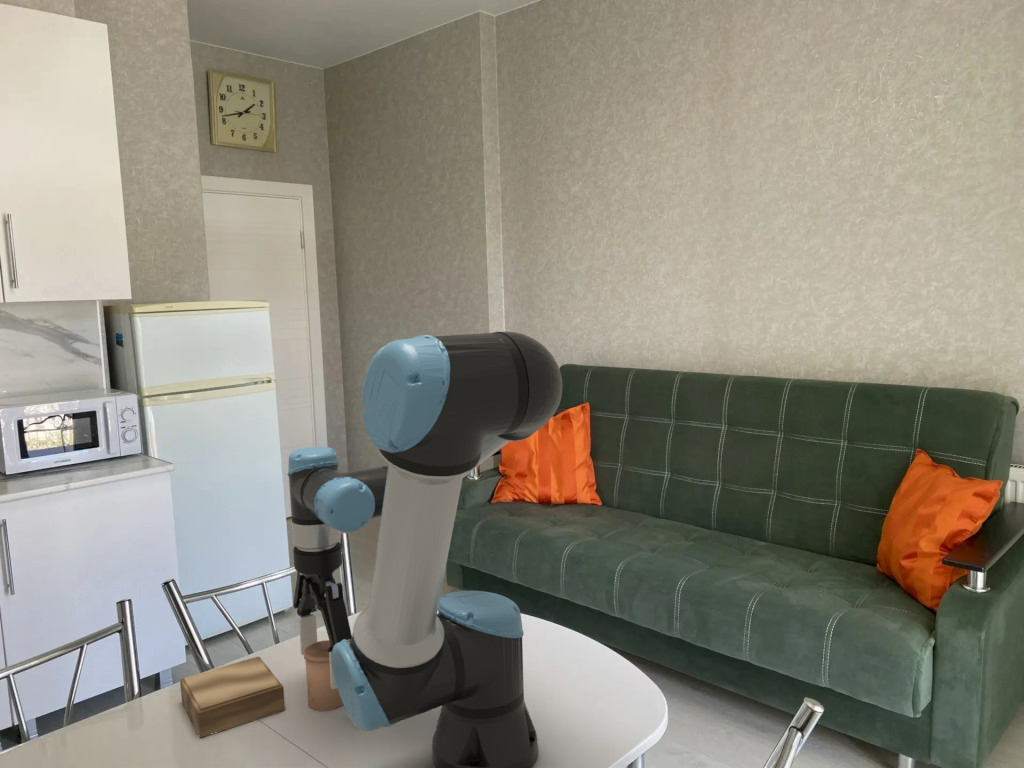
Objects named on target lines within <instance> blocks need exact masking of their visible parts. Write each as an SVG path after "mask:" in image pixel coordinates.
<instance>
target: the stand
mask: <svg viewBox="0 0 1024 768" xmlns="http://www.w3.org/2000/svg"><path fill="white" fill-rule="evenodd" d="M179 681H180V683H179V684H180V694H181V696H180V697H181V703H182V702H183V703H182V704H184V705H183V707H184V706H185V707H184V709H185V708H186V709H185V711H186V710H187V711H186V712H188V713H187V715H188V714H189V715H188V716H190V717H191V719H192V721H193V723H194V725H195V727H196V728H195V727H194V728H195V730H196V729H197V730H196V732H197V731H198V732H197V734H198V733H199V734H198V736H199V735H200V736H199V738H200V737H202V738H204V737H203V736H205V737H207V736H206V735H208V736H211V735H212V734H211V733H214V734H216V733H215V732H217V733H220V732H223V731H226V730H229V729H233V728H235V727H238V726H241V725H243V724H247V723H250V722H253V721H256V720H260V719H262V718H265V717H268V716H272V715H274V714H277V713H280V712H284V711H286V705H285V690H284V689H285V687H284V686H283V684H282V683H281V681H280V680H279V679H278V677H277V676H275V674H274V673H273V672H272V670H271V669H270V667H268V665H267V664H266V663H265V661H264V660H263V659H262V658H261V657H260V656H254V657H251V658H247V659H244V660H241V661H238V662H234V663H231V664H226V665H224V666H223V665H222V666H220V667H217V668H213V669H210V670H209V669H208V670H205V671H203V672H199V673H196V674H192V675H189V676H186V677H183V678H180V679H179ZM190 717H189V718H190ZM191 719H190V720H191ZM192 721H191V722H192ZM193 723H192V724H193ZM194 725H193V726H194ZM222 730H223V731H222ZM219 731H220V732H219ZM210 734H211V735H210Z"/></svg>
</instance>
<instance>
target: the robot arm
mask: <svg viewBox="0 0 1024 768" xmlns="http://www.w3.org/2000/svg"><path fill="white" fill-rule="evenodd" d="M562 394H563V378H562V374H561V370H560V367H559V365H558V363H557V361H556V359H555V358H554V356H553V354H552V353H551V352H550V351H549V349H548V348H547V347H545V346H544V345H543V344H542V343H540V341H538V340H537V339H534V338H533V337H530V336H528V335H527V334H523V333H519V332H516V331H515V332H514V331H505V330H504V331H494V332H486V333H472V334H471V333H469V334H454V335H452V334H451V335H438V336H436V335H435V336H434V335H431V334H430V335H429V334H423V335H416V336H414V337H412V338H404V339H395V340H393V341H390V342H388V343H387V344H385V346H383V347H381V348H380V349H379V350H378V351H377V352H376V353H375V355H374V356H373V357H372V359H371V361H370V363H369V365H368V368H367V371H366V373H365V377H364V382H363V387H362V395H361V396H362V397H361V400H362V401H361V405H362V407H364V412H363V422H364V427H365V430H366V432H367V433H366V434H367V435H368V437H369V439H370V441H371V442H372V443H373V445H374V446H376V448H377V450H378V453H379V455H380V457H381V458H382V459H383V460H384V461H385V462H386V463H387V464H388V465H384V466H383V465H382V466H377V467H372V468H365V469H360V470H353V471H347V472H343V471H341V470H339V469H338V468H339V465H340V464H339V462H338V457H337V456H338V454H337V452H336V450H335V449H334V448H331V447H328V446H327V447H326V446H310V447H303V448H299V449H295V450H293V451H292V452H291V453H290V454H289V456H288V472H287V476H288V484H289V496H290V497H289V500H290V512H291V513H290V515H291V519H290V523H291V539H292V540H291V541H292V545H293V546H294V547H293V552H292V553H293V567H294V569H295V571H296V572H297V573H296V574H297V575H296V582H295V588H294V589H295V590H294V595H293V596H294V597H293V602H292V603H293V605H292V606H293V608H294V610H295V609H296V613H297V615H298V625H299V643H300V655H302V656H304V649H305V648H306V647H307V646H309V645H311V644H313V643H316V642H318V631H317V630H318V628H317V614H316V613H315V612H318V611H320V613H321V616H322V619H323V622H324V623H323V624H324V626H325V631H326V633H327V637H328V640H329V641H330V644H331V647H329V648H328V649H327V651H328V652H329V661H330V680H331V688H332V689H336V688H338V691H339V694H340V697H341V699H342V702H343V704H342V705H343V706H344V709H345V711H346V713H347V716H348V717H349V720H350V721H351V722H352V723H353V724H354V726H355V727H356V728H358V729H359V730H361V731H364V732H371V731H374V730H378V729H381V728H384V727H386V728H390V727H391V725H395V724H397V723H400V722H403V721H405V720H407V719H410V718H414V717H415V716H419V715H420V714H423V713H427V712H429V711H431V710H434V709H436V708H440V707H441V710H440V713H439V717H438V718H437V719H438V720H437V724H436V727H435V731H434V734H433V737H432V744H431V750H432V751H431V752H432V761H433V764H434V767H435V768H532V767H533V766H532V765H534V764H535V763H536V761H537V758H538V745H539V744H538V735H537V732H536V728H535V726H534V723H533V720H532V718H531V715H530V712H529V709H528V707H527V704H526V702H525V693H524V692H525V690H524V689H525V687H524V684H525V682H524V654H523V653H524V652H523V651H524V650H523V649H524V648H523V636H524V630H523V622H522V613H521V611H520V607H519V606H518V605H517V603H515V601H513V600H512V599H510V598H508V597H506V596H504V595H501V594H498V593H494V592H490V591H483V590H460V591H455V592H454V591H452V592H449V593H448V594H445V595H444V596H442V597H441V593H442V587H443V584H444V579H445V578H444V577H445V573H446V568H447V563H448V556H449V552H450V551H449V550H450V546H451V543H452V542H451V541H452V537H453V530H454V526H455V520H456V516H457V510H458V505H459V499H460V494H461V489H462V484H463V478H465V477H466V476H467V475H469V474H470V473H471V472H473V470H475V469H477V467H479V466H480V465H481V464H482V463H484V462H485V461H487V460H488V459H489V458H490V457H492V456H493V455H494V454H496V453H497V452H498V451H499V450H501V449H502V448H504V446H506V445H507V444H509V443H511V442H521V441H525V440H526V439H528V438H530V437H531V436H532V435H534V434H535V433H536V432H538V431H540V430H541V428H543V427H544V426H545V425H546V424H548V423H549V421H550V420H551V419H552V418H553V416H554V415H555V413H556V412H557V410H558V408H559V406H560V403H561V399H562V396H563V395H562ZM376 518H380V524H379V530H378V538H377V542H376V543H377V545H376V551H375V559H374V567H373V571H372V573H373V574H372V579H371V580H372V581H371V586H370V595H369V601H368V606H366V607H364V609H362V611H361V612H360V613H359V614H358V615H357V617H356V619H355V620H354V624H353V628H352V629H353V630H352V631H351V626H350V622H349V617H348V614H347V609H346V608H347V607H346V603H345V599H344V590H343V589H344V587H343V584H342V582H337V583H336V579H335V578H334V576H333V573H334V572H335V571H337V570H338V569H340V568H341V566H342V565H343V554H342V553H343V551H342V550H343V549H342V543H341V542H340V541H341V538H342V536H341V533H342V532H344V533H348V532H349V533H352V532H355V531H358V530H360V529H361V528H363V527H364V526H365V525H367V524H368V523H369V522H370V521H371V519H372V520H373V519H376Z"/></svg>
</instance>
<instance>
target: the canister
mask: <svg viewBox="0 0 1024 768" xmlns="http://www.w3.org/2000/svg"><path fill="white" fill-rule="evenodd" d="M329 647H331V644H330V641H329V639H328V640H321V641H320V640H318V641H317V642H316V643H313V644H311V645H309V646H307V647H306V648H305V649H304V655H303V658H304V661H305V672H306V673H305V675H306V676H305V677H306V688H307V689H306V690H307V692H306V693H307V705H308V708H310V709H311V710H313V711H319V712H327V711H331V710H335V709H337V708H340V707H341V706H342V705H343V702H342V699H341V697H340V694H339V691H338V688H336V689H332V688H331V680H330V661H329V652H328V651H327V649H328V648H329Z"/></svg>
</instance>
